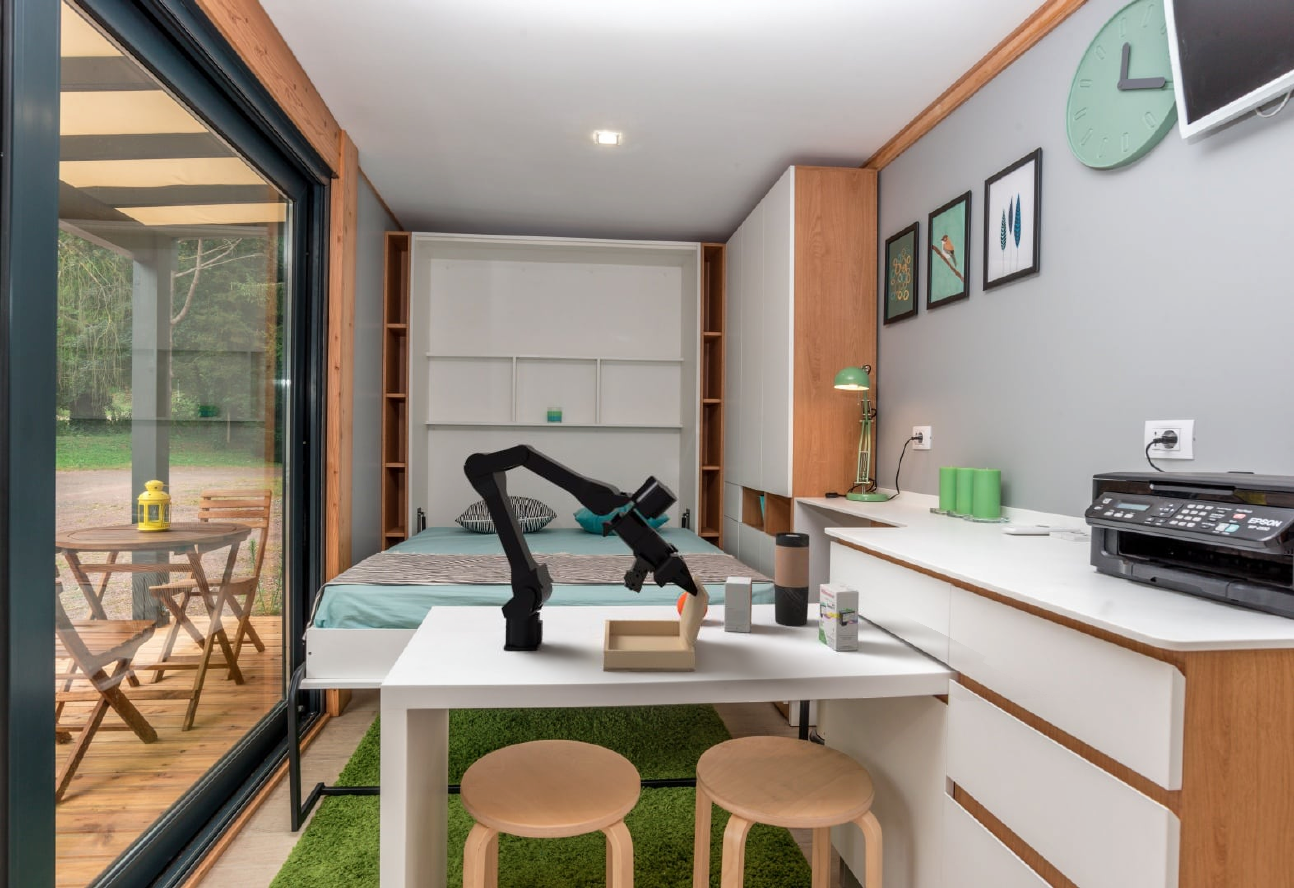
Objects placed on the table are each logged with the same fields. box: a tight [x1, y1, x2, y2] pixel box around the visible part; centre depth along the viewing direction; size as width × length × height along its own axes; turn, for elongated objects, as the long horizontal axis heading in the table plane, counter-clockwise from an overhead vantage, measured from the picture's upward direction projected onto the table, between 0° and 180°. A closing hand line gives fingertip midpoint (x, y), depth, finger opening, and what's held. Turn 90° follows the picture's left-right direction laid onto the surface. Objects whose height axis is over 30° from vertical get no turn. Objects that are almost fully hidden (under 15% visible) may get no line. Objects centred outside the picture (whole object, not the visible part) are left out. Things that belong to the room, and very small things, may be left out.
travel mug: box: [774, 531, 810, 627], centre depth 159 cm, size 8×8×20 cm
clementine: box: [676, 590, 709, 619], centre depth 158 cm, size 8×7×7 cm
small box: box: [723, 576, 753, 633], centre depth 153 cm, size 8×6×10 cm
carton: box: [602, 619, 696, 672], centre depth 134 cm, size 16×22×4 cm
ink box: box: [818, 582, 860, 652], centre depth 141 cm, size 8×5×12 cm, turn 9°
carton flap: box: [679, 574, 711, 646], centre depth 134 cm, size 1×20×9 cm, turn 3°
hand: (697, 594), depth 133 cm, fingers closed, pressing on carton flap
